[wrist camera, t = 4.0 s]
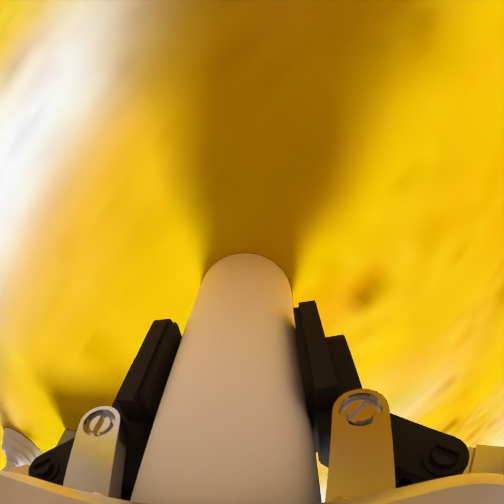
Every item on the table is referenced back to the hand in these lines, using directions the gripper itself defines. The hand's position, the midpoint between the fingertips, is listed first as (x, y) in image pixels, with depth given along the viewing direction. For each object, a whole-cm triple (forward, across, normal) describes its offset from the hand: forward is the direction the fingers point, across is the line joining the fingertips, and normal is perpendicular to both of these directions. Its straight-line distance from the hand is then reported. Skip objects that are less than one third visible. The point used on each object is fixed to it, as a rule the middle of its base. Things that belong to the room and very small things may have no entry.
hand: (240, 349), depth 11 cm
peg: (+4, 0, 0) cm, 4 cm away
